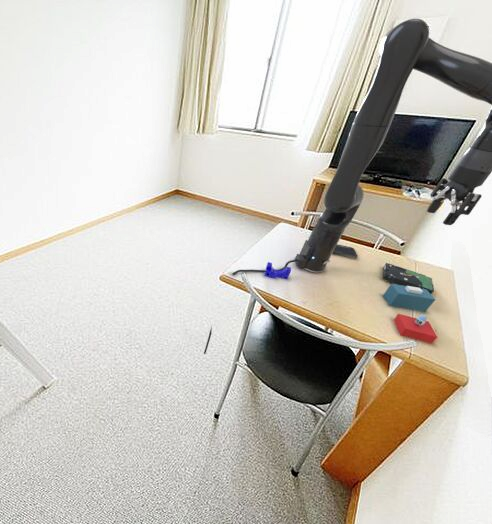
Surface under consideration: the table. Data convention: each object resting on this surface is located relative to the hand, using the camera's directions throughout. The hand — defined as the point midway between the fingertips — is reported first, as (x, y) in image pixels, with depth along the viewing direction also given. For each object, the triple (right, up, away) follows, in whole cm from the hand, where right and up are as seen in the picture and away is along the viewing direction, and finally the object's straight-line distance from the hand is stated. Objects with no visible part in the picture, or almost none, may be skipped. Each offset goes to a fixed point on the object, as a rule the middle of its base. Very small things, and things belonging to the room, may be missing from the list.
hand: (438, 218), depth 94 cm
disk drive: (+7, -21, +20) cm, 30 cm away
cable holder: (-43, -19, +17) cm, 50 cm away
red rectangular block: (-10, -35, -2) cm, 36 cm away
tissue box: (-3, -28, +9) cm, 29 cm away
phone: (-9, -9, +35) cm, 38 cm away
